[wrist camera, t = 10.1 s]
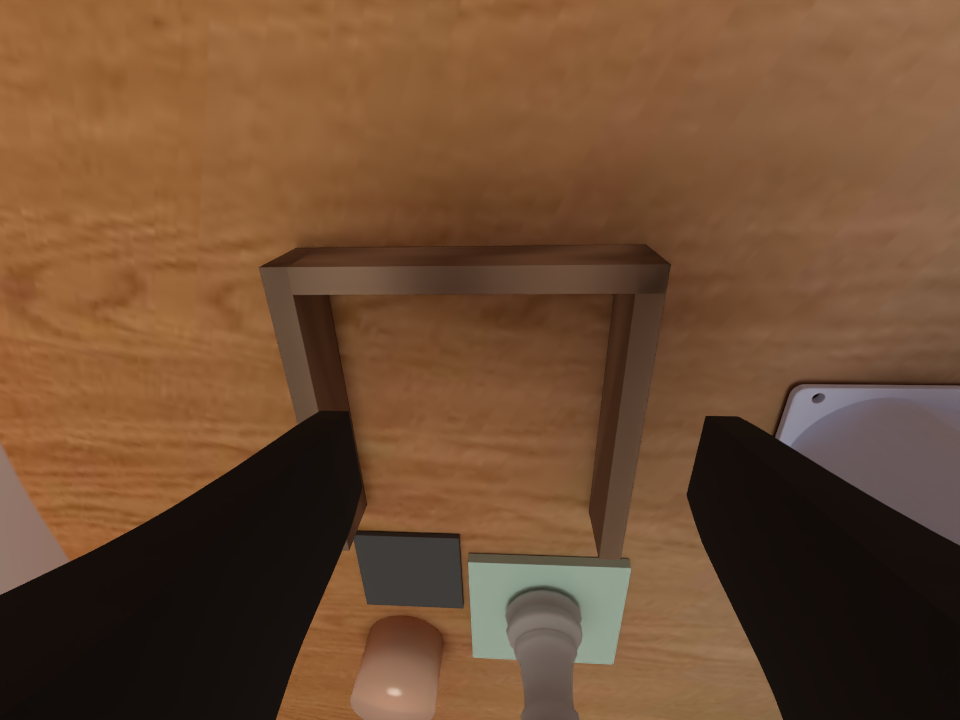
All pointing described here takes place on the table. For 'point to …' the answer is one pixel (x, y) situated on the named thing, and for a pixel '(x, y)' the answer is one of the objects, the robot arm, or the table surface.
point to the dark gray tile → (410, 568)
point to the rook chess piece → (545, 651)
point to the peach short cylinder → (399, 671)
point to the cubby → (484, 270)
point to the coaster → (579, 578)
